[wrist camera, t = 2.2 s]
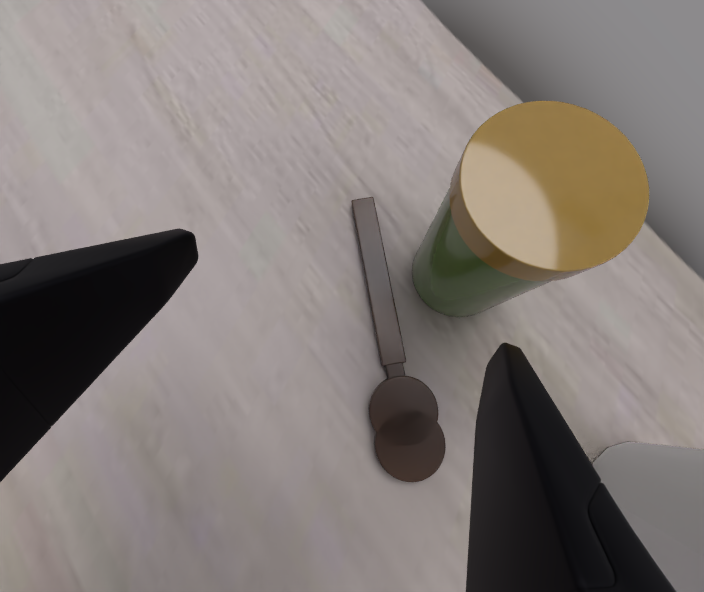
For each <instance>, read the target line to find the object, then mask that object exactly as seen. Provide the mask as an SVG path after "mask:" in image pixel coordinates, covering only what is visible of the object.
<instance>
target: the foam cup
mask: <svg viewBox="0 0 704 592" xmlns="http://www.w3.org/2000/svg"><path fill="white" fill-rule="evenodd" d="M592 465H593V467H594V469H595V470H596V472H597V473H598V475H599V477H600V478H601V482H600V483H604V485H605V486H606V488H607V489H608V491H609V493H610V494H611V496H612V498H613V499H614V501H615V502H616V504H617V506H618V507H619V509H620V510H621V512H622V513H623V515H624V516H625V518H626V520H627V521H628V523H629V524H630V526H631V527H632V529H633V530H634V532H635V533H636V535H637V536H638V538H639V539H640V541H641V542H642V543H643V545H644V546H645V548H646V549H647V551H648V552H649V554H650V555H651V557H652V558H653V559H654V561H655V562H656V564H657V565H658V567H659V568H660V569H661V571H662V572H663V574H664V575H665V576H666V578H667V579H668V581H669V582H670V583H671V585H672V586H673V588H674V589H675V590H676V592H704V449H696V448H687V447H677V446H668V445H659V444H650V443H641V442H629V441H628V442H624V443H621V444H618V445H614V446H611V447H608V448H607V449H606V450H605V451H604V452H603V453H602V454H601V455H600V456H599V457H598V458H597V459H596V460H595V461H594V462H593V464H592Z"/></svg>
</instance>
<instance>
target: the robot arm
mask: <svg viewBox="0 0 704 592" xmlns="http://www.w3.org/2000/svg"><path fill="white" fill-rule="evenodd" d="M197 261H198V251H197V245H196V239H195V236H194V234H193V233H192V232H189V231H186V230H183V229H174V230H169V231H164V232H159V233H154V234H149V235H144V236H139V237H134V238H129V239H124V240H119V241H115V242H110V243H105V244H100V245H95V246H90V247H85V248H80V249H75V250H70V251H65V252H60V253H55V254H50V255H45V256H40V257H35V258H34V259H32V258H30V259H25V260H20V261H15V262H10V263H5V264H0V482H1V481H2V480H3V479H4V478H5V476H6V475H7V474H8V473H9V472H10V471H11V470H12V469H13V468H14V467H15V466H16V465H17V464H18V463H19V461H20V460H21V459H22V458H23V457H24V456H25V455H26V454H27V453H28V452H29V451H30V450H31V449H32V447H33V446H34V445H35V444H36V443H37V442H38V441H39V440H40V439H41V438H42V437H43V436H44V435H45V433H46V432H47V431H48V430H49V429H50V428H51V426H52V425H54V423H55V422H56V421H57V420H58V419H59V418H60V417H61V416H62V415H63V414H64V413H65V412H66V411H67V410H68V408H69V407H70V406H71V405H72V404H73V403H74V402H75V401H76V400H77V399H78V398H79V397H80V396H81V394H82V393H83V392H84V391H85V390H86V389H87V388H88V387H89V386H90V385H91V384H92V383H93V382H94V380H95V379H96V378H97V377H98V376H99V375H100V374H101V373H102V372H103V371H104V370H105V369H106V368H107V367H108V365H109V364H110V363H111V362H112V361H113V360H114V359H115V358H116V357H117V356H118V355H119V354H120V353H121V351H122V350H123V349H124V348H125V347H126V346H127V345H128V344H129V343H130V342H131V341H132V340H133V339H134V338H135V336H136V335H137V334H138V333H139V332H140V331H141V330H142V329H143V328H144V327H145V326H146V325H147V324H148V322H149V321H150V320H151V319H152V318H153V317H154V316H155V315H156V314H157V313H158V312H159V311H160V310H161V308H162V307H163V306H164V305H165V304H166V303H167V302H168V301H169V299H170V298H171V297H172V295H173V294H174V293H175V291H176V290H177V289H178V287H179V286H180V285H181V283H182V282H183V281H184V279H185V278H186V277H187V275H188V274H189V273H190V271H191V270H192V269H193V267H194V266H195V265H196V263H197ZM600 482H601V478H600V477H599V475H598V473H597V472H596V470H595V469H594V467H593V465H592V464H591V462H590V461H589V459H588V457H587V456H586V454H585V452H584V451H583V449H582V448H581V446H580V444H579V443H578V441H577V439H576V438H575V436H574V435H573V433H572V431H571V430H570V428H569V426H568V425H567V423H566V422H565V420H564V418H563V417H562V415H561V413H560V412H559V410H558V409H557V407H556V405H555V404H554V402H553V400H552V399H551V397H550V396H549V394H548V392H547V391H546V389H545V388H544V386H543V384H542V383H541V381H540V379H539V378H538V376H537V375H536V373H535V371H534V370H533V368H532V366H531V365H530V363H529V362H528V360H527V358H526V357H525V355H524V353H523V352H522V350H521V349H520V348H519V347H516V346H514V345H511V344H508V343H503V344H501V345H500V346H499V348H498V349H497V351H496V352H495V354H494V355H493V356H492V358H491V359H490V361H489V363H488V365H487V367H486V371H485V377H484V382H483V387H482V393H481V398H480V403H479V408H478V414H477V420H476V430H475V446H474V463H473V480H472V497H471V513H470V530H469V547H468V564H467V581H466V592H676V590H675V589H674V588H673V586H672V585H671V583H670V582H669V581H668V579H667V578H666V576H665V575H664V574H663V572H662V571H661V569H660V568H659V567H658V565H657V564H656V562H655V561H654V559H653V558H652V557H651V555H650V554H649V552H648V551H647V549H646V548H645V546H644V545H643V543H642V542H641V541H640V539H639V538H638V536H637V535H636V533H635V532H634V530H633V529H632V527H631V526H630V524H629V523H628V521H627V520H626V518H625V516H624V515H623V513H622V512H621V510H620V509H619V507H618V506H617V504H616V502H615V501H614V499H613V498H612V496H611V494H610V493H609V491H608V489H607V488H606V486H605V485H604V483H600Z"/></svg>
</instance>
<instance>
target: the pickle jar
mask: <svg viewBox="0 0 704 592" xmlns="http://www.w3.org/2000/svg"><path fill="white" fill-rule="evenodd" d="M648 204H649V185H648V179H647V174H646V171H645V168H644V165H643V163H642V161H641V159H640V157H639V154H638V153H637V151H636V150H635V148H634V146H633V145H632V144H631V143H630V141H629V140H628V139H627V137H626V136H625V135H624V134H623V133H622V132H621V131H620V130H619V129H618V128H616V127H615V126H614V125H613V124H611V123H610V122H609V121H608V120H606V119H604V118H603V117H601V116H599V115H598V114H596V113H594V112H592V111H590V110H587V109H585V108H582V107H579V106H576V105H573V104H569V103H564V102H557V101H534V102H527V103H522V104H518V105H515V106H512V107H509V108H506V109H504V110H502V111H501V112H499V113H497V114H495V115H494V116H492V117H491V118H489V119H488V120H487V121H486V122H484V123H483V124H482V125H481V126H480V127H479V128H478V129H477V131H476V132H475V133H474V134H473V135H472V137H471V139H470V140H469V142H468V144H467V146H466V148H465V150H464V152H463V154H462V156H461V158H460V160H459V162H458V164H457V166H456V168H455V171H454V173H453V176H452V180H451V184H450V188H449V190H448V192H447V194H446V196H445V198H444V200H443V202H442V204H441V206H440V208H439V210H438V212H437V214H436V215H435V217H434V219H433V221H432V223H431V225H430V227H429V229H428V231H427V233H426V235H425V237H424V239H423V241H422V243H421V245H420V247H419V249H418V251H417V253H416V255H415V258H414V261H413V266H412V277H413V282H414V286H415V288H416V290H417V292H418V294H419V296H420V297H421V298H422V300H423V301H424V302H425V303H426V304H427V305H428V306H430V307H431V308H432V309H434V310H435V311H437V312H439V313H441V314H444V315H447V316H452V317H468V316H472V315H475V314H478V313H480V312H482V311H485V310H487V309H489V308H492V307H494V306H496V305H498V304H501V303H503V302H505V301H508V300H510V299H512V298H514V297H517V296H519V295H521V294H524V293H526V292H528V291H530V290H533V289H535V288H537V287H540V286H542V285H544V284H546V283H549V282H551V281H556V280H561V279H565V278H569V277H572V276H574V275H577V274H579V273H582V272H584V271H587V270H589V269H591V268H594V267H596V266H598V265H601V264H603V263H605V262H607V261H609V260H611V259H612V258H614V257H616V256H617V255H618V254H620V253H621V252H622V251H624V250H625V249H626V248H627V247H628V246H629V244H630V243H631V242H632V241H633V240H634V238H635V237H636V236H637V234H638V233H639V231H640V229H641V227H642V225H643V223H644V221H645V217H646V214H647V211H648Z"/></svg>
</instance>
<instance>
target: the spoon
mask: <svg viewBox="0 0 704 592" xmlns="http://www.w3.org/2000/svg"><path fill="white" fill-rule="evenodd" d="M352 209H353V214H354V220H355V225H356V230H357V236H358V241H359V246H360V252H361V257H362V262H363V268H364V273H365V278H366V284H367V289H368V295H369V300H370V305H371V311H372V316H373V321H374V327H375V332H376V337H377V343H378V348H379V354H380V359H381V364H382V366H386V371H387V376H388V379H386V380H384V381H383V382H382V383H380V384H379V385H378V386H377V388H376V389H375V390H374V392H373V394H372V396H371V399H370V404H369V415H370V420H371V423H372V426H373V428H374V430H375V431H376V433H375V450H376V454H377V457H378V460H379V462H380V464H381V465H382V467H383V468H384V469H385V470H386V471H387V472H388V473H389V474H390V475H391V476H393V477H394V478H396V479H399V480H401V481H406V482H418V481H422V480H424V479H426V478H428V477H430V476H431V475H432V474H434V473H435V472H436V471H437V469H438V468H439V466H440V465H441V463H442V461H443V458H444V454H445V438H444V434H443V432H442V429H441V427H440V425H439V424H438V423H437V420H438V406H437V402H436V399H435V397H434V395H433V393H432V391H431V390H430V389H429V388H428V387H427V386H426V385H425V384H424V383H423V382H421V381H420V380H418V379H415V378H413V377H409V376H405V373H404V368H403V362H406V358H405V353H404V348H403V343H402V338H401V333H400V328H399V323H398V318H397V313H396V308H395V303H394V298H393V293H392V288H391V283H390V278H389V273H388V268H387V263H386V258H385V253H384V248H383V243H382V238H381V233H380V228H379V223H378V218H377V213H376V208H375V203H374V198H373V197H368V198H362V199H357V200H352Z"/></svg>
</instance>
